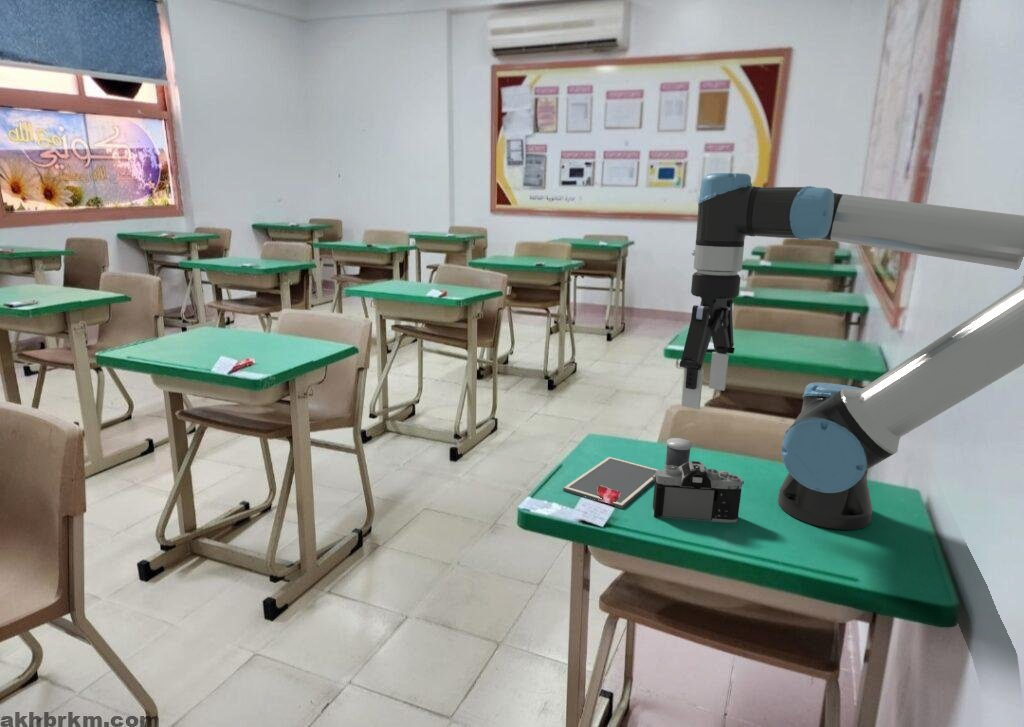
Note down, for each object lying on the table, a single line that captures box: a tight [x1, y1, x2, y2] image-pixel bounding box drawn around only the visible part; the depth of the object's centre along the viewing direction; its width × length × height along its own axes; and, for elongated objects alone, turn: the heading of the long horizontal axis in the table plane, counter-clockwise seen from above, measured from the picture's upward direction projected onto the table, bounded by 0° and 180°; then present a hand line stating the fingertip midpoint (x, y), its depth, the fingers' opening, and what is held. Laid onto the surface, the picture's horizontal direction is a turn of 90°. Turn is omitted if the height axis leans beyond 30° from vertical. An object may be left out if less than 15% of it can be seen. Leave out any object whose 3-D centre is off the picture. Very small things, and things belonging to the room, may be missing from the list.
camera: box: [652, 460, 745, 524], centre depth 113 cm, size 16×9×10 cm, turn 84°
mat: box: [562, 456, 658, 510], centre depth 125 cm, size 12×19×1 cm, turn 146°
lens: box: [664, 437, 693, 468], centre depth 128 cm, size 5×5×7 cm
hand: (704, 397), depth 110 cm, fingers open, 13 cm apart
